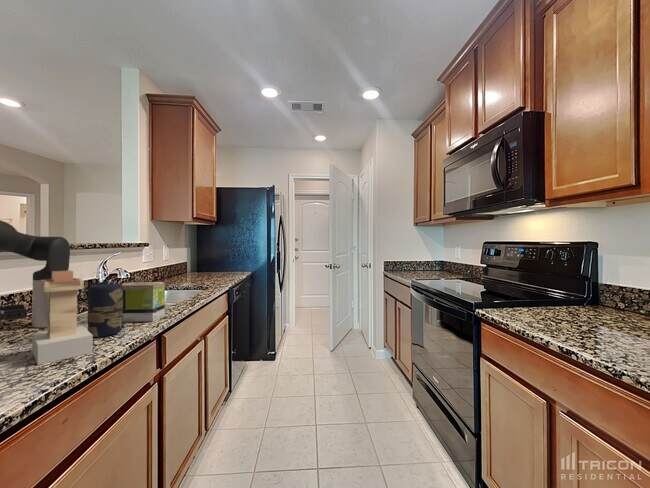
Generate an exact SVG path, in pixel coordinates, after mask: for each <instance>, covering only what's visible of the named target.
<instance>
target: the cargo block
mask: <svg viewBox="0 0 650 488" xmlns="http://www.w3.org/2000/svg"><path fill="white" fill-rule="evenodd" d="M73 278H74V271H73V270H70V269H68V271H52V282H59V281H73Z"/></svg>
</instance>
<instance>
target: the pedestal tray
mask: <svg viewBox="0 0 650 488" xmlns="http://www.w3.org/2000/svg"><path fill="white" fill-rule="evenodd" d="M84 281H85V280H84V279H82V278H80V277H73V281H59V282H52V279H50V280H41V289H42V290H43V291H44V292H48V317H47V327H46V328H47V330H46V331H47V335H48V337H49V338H50V339H53V338H59V337H64V336H70V335H76V334H77V325H78V322H77V321H78V319H77V318H78V290H84V289H85V287H84V284H85V282H84Z"/></svg>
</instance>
